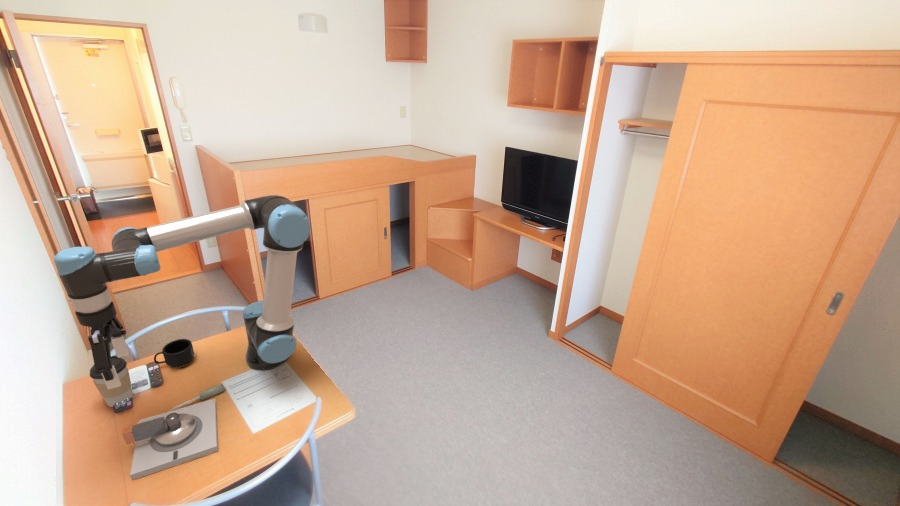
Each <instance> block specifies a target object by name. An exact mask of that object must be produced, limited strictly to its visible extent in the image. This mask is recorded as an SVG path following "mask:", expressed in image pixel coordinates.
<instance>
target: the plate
mask: <svg viewBox="0 0 900 506" xmlns="http://www.w3.org/2000/svg"><path fill="white" fill-rule="evenodd" d="M171 413H178V414H183V413H186V414H190V415H192V416H193V417H194V418H195V422H196V430H195V432H194V433H193V434H192V435H191V436H190V437H189V438H188V439H187V440H185V441H184V442H182V443H180V444H177V445H174V446H161V445H159V444H158V443H157V442H156V439H155V436H154V437H150V438H147V439H144V440H140V441H137V442H135V443H134V448H133V449H134V450H133V455H132V463H131V467H130V476H129V477H130V478H131V481H134V480H136V479H140V478H143V477H145V476H148V475H151V474H154V473H158V472H161V471H163V470H166V469H169V468H172V467H175V466H178V465H180V464H184V463H186V462H189V461H192V460H195V459H198V458H201V457H204V456H207V455H210V454H213V453H216V452H218V451H219V446H218V445H219V444H218V443H219V442H218V418H217V415H218V414H217V401H216V398H213V399H208V400H204V401H201V402H198V403H195V404H194V403H193V404H191V405H187V406H185V407H184V406H183V407H180V408H177V409H175V410H170V411H167V412H162V413H160V414H156V415H152V416H150V417H146V418H142V419H139V420H138V424H139V423H143V422H146V421H150V420H153V419H157V418H160V417H164V419H165V418H166V416H167V415H169V414H171Z"/></svg>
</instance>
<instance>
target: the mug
mask: <svg viewBox="0 0 900 506" xmlns="http://www.w3.org/2000/svg"><path fill="white" fill-rule="evenodd" d="M161 354H162V355H163V359H164V360H162V361H157V357H158V356H159V355H161ZM194 358H195V350H194V346H193V343H192V341H191V340H190V339H186V338H180V339H174V340H173V341H170V342H168V343H166V344H165V345H164V346H163V347H162V350H161V351H159V352H157V353H155V354H154V357H153V361H154V363H155V364H157V365H159V364H160V365H161V364H166V365H167V366H168V367H170V368H177V369H178V368H182V367H185V366H187V365H189V364H190V363H192V361H193V360H194Z"/></svg>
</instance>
